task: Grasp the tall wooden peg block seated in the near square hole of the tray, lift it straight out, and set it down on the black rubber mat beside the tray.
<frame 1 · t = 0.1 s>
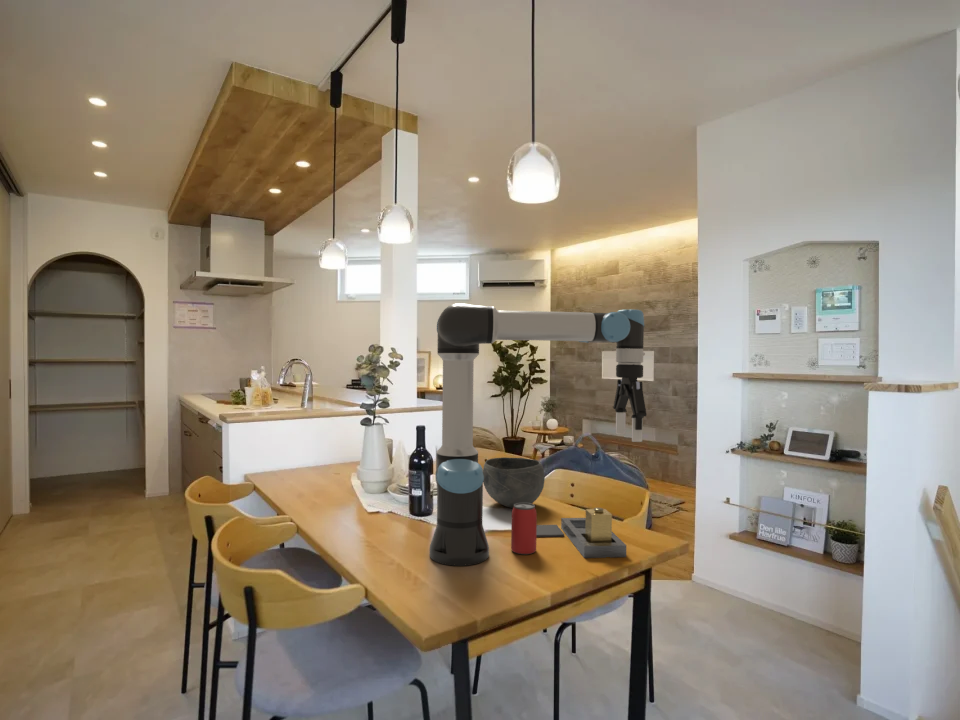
hand: (628, 437, 159), 28 cm above the table, fingers open, 13 cm apart
tray: (591, 541, 153), on the table
beer can: (523, 551, 145), on the table
bowl: (513, 506, 188), on the table
mat: (545, 531, 161), on the table
tall wooden peg block: (598, 549, 147), resting in tray
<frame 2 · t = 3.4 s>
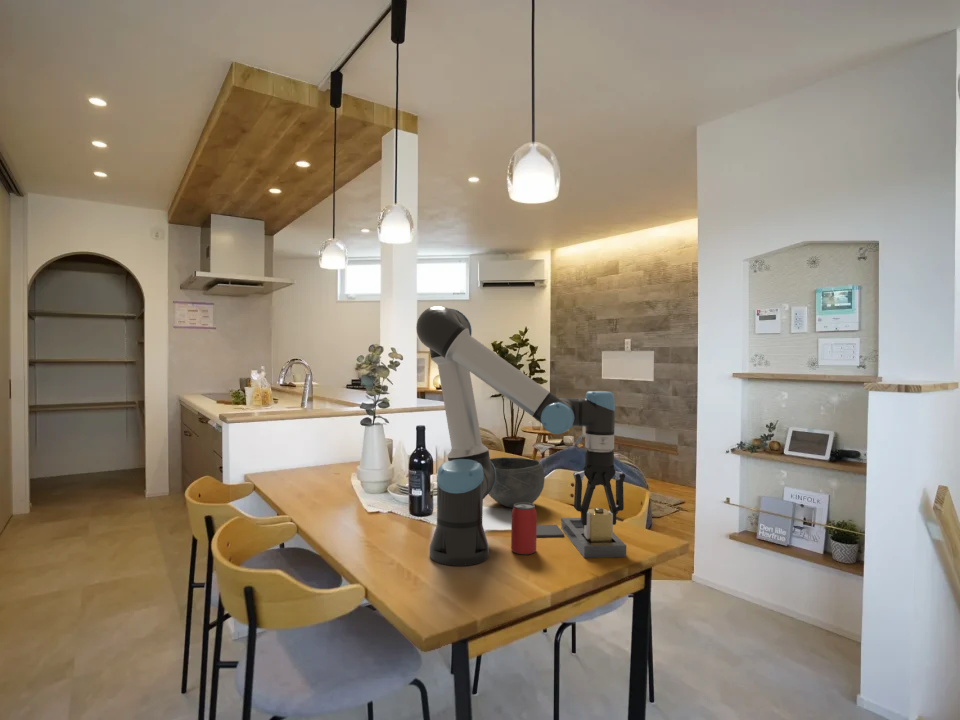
hand: (598, 536, 147), 3 cm above the table, fingers closed on tall wooden peg block, 5 cm apart
tall wooden peg block: (598, 549, 147), resting in tray, touching gripper
everything else where it was.
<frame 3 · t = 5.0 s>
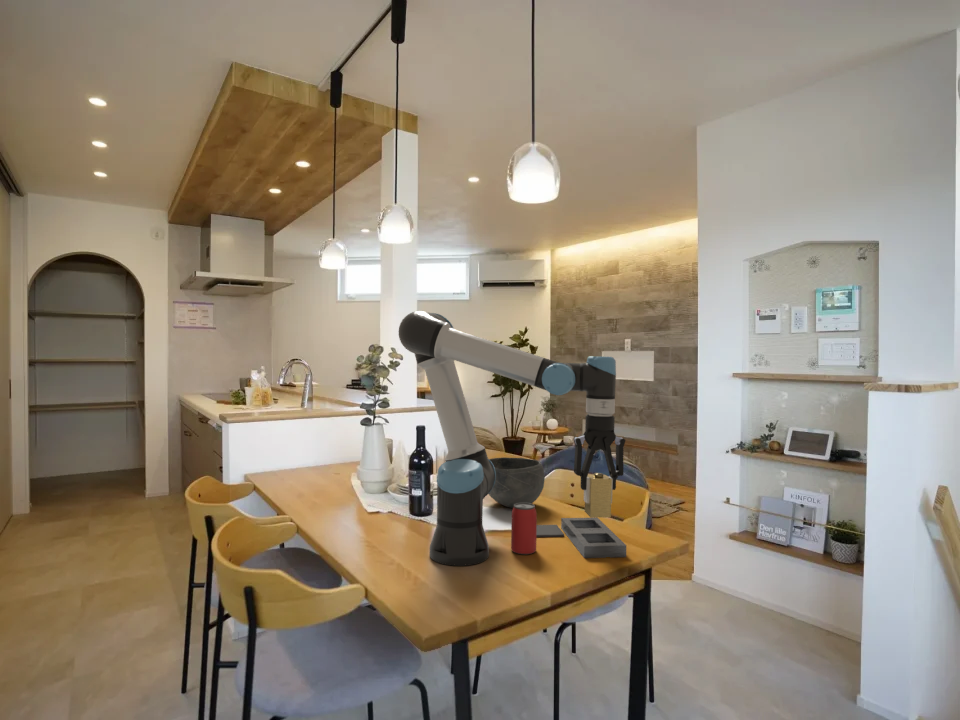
hand: (597, 501, 147), 13 cm above the table, fingers closed on tall wooden peg block, 5 cm apart
tall wooden peg block: (597, 514, 147), point 9 cm above the table, touching gripper
everything else where it was.
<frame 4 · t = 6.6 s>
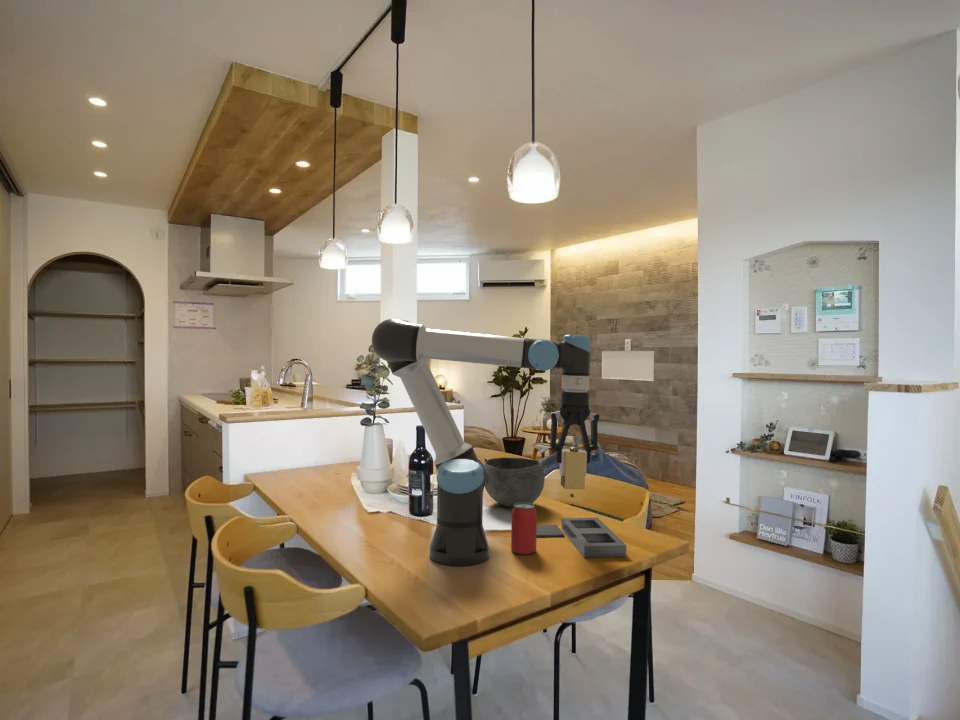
hand: (572, 474, 153), 18 cm above the table, fingers closed on tall wooden peg block, 5 cm apart
tall wooden peg block: (572, 486, 153), point 15 cm above the table, touching gripper
everything else where it was.
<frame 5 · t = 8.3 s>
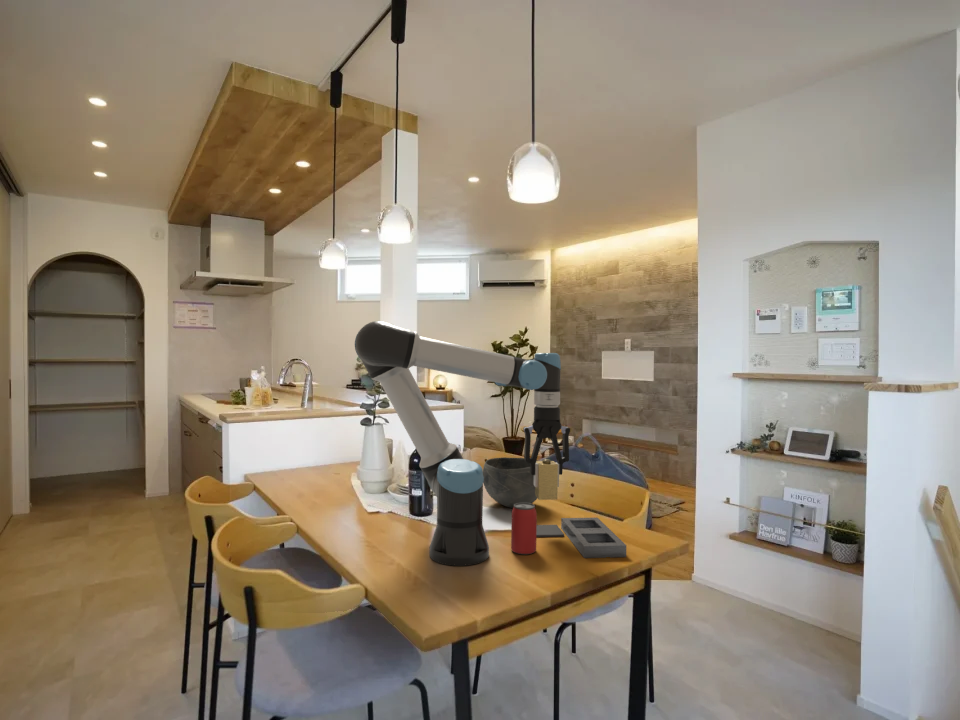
hand: (546, 485, 161), 13 cm above the table, fingers closed on tall wooden peg block, 5 cm apart
tall wooden peg block: (546, 497, 161), point 10 cm above the table, touching gripper
everything else where it was.
when the fingers open (5 cm above the table, at t = 10.0 s): tall wooden peg block drops 1 cm, resting on mat.
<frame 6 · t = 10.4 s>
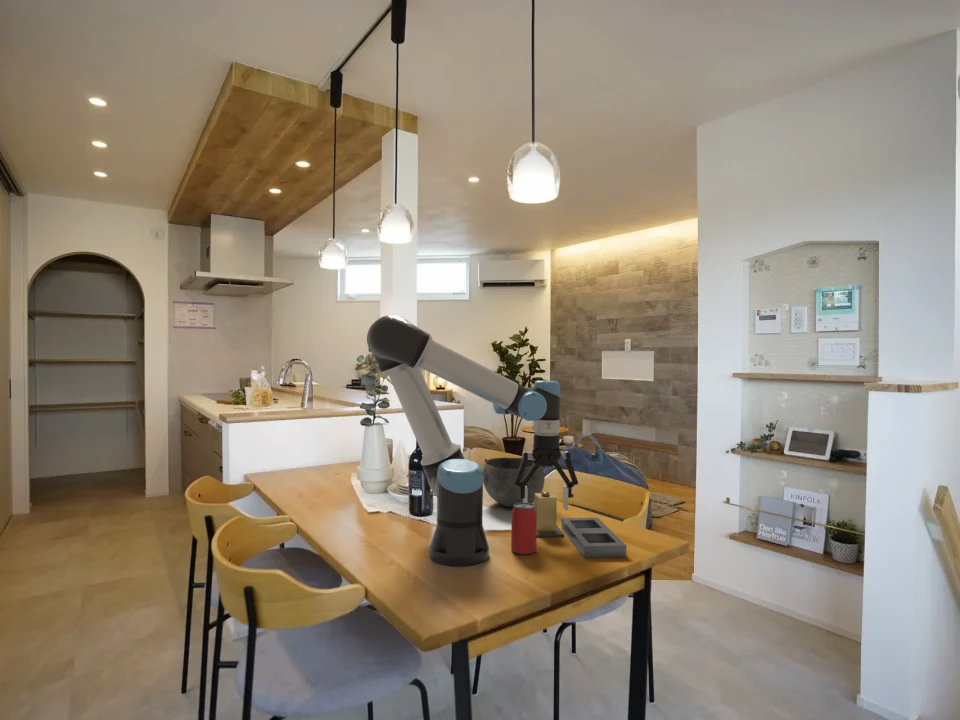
hand: (545, 509, 161), 7 cm above the table, fingers open, 11 cm apart
tall wooden peg block: (544, 529, 161), point 1 cm above the table, touching mat
everything else where it was.
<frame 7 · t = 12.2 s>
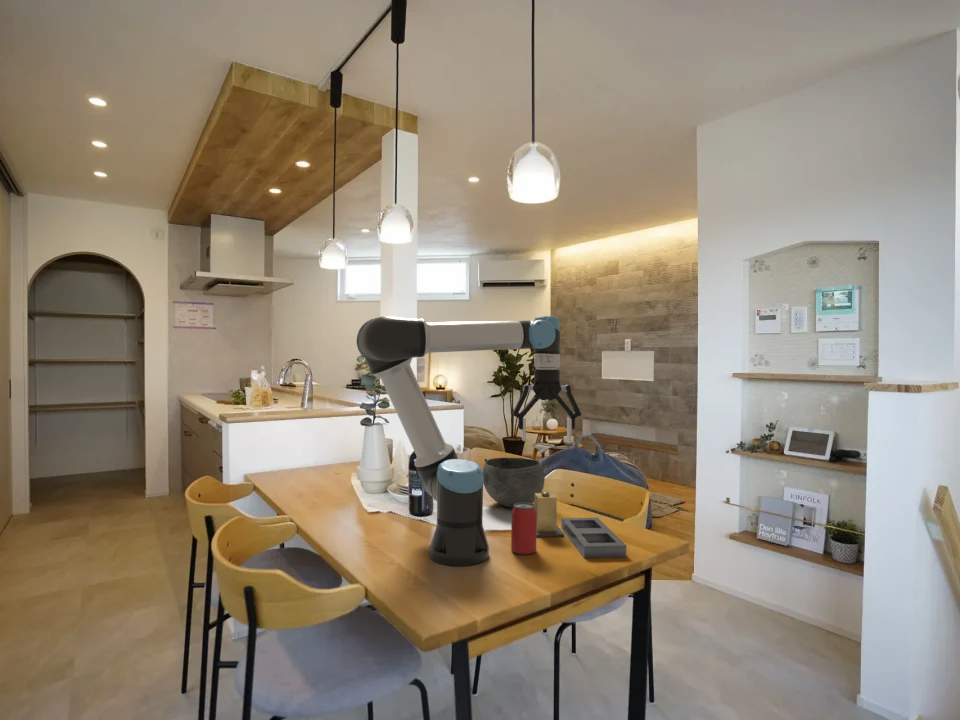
hand: (546, 440, 164), 26 cm above the table, fingers open, 13 cm apart
nothing on the table moved.
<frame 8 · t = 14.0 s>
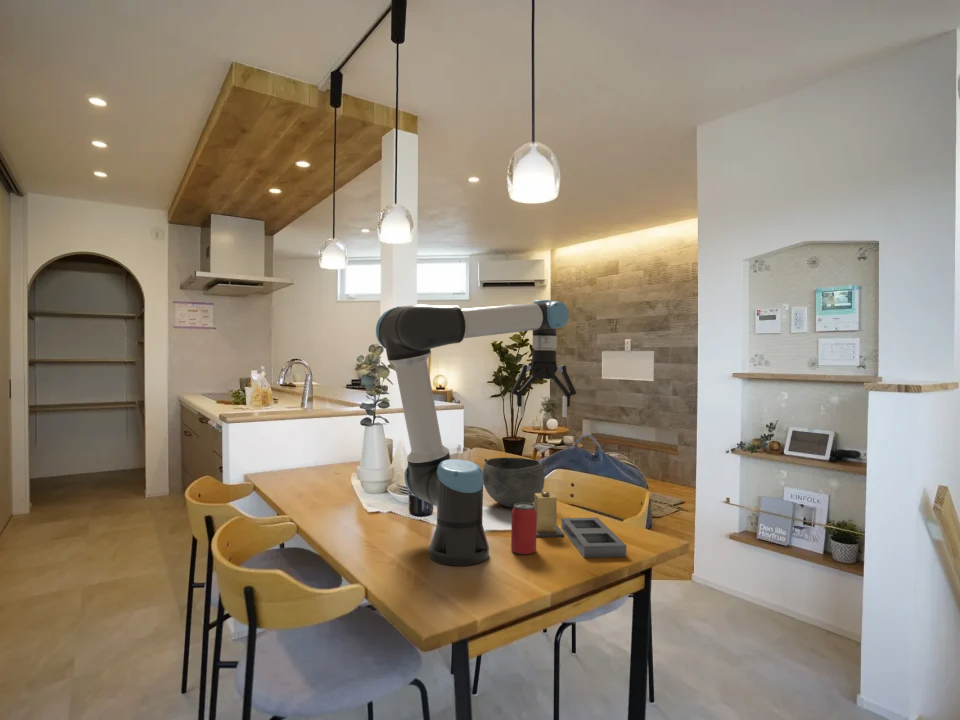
hand: (543, 417, 175), 32 cm above the table, fingers open, 13 cm apart
nothing on the table moved.
at the end: tall wooden peg block inside the target area on the mat (0.1 cm from its centre), point 0.6 cm above the mat's base; tall wooden peg block tilted 0°; tall wooden peg block touching mat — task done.
